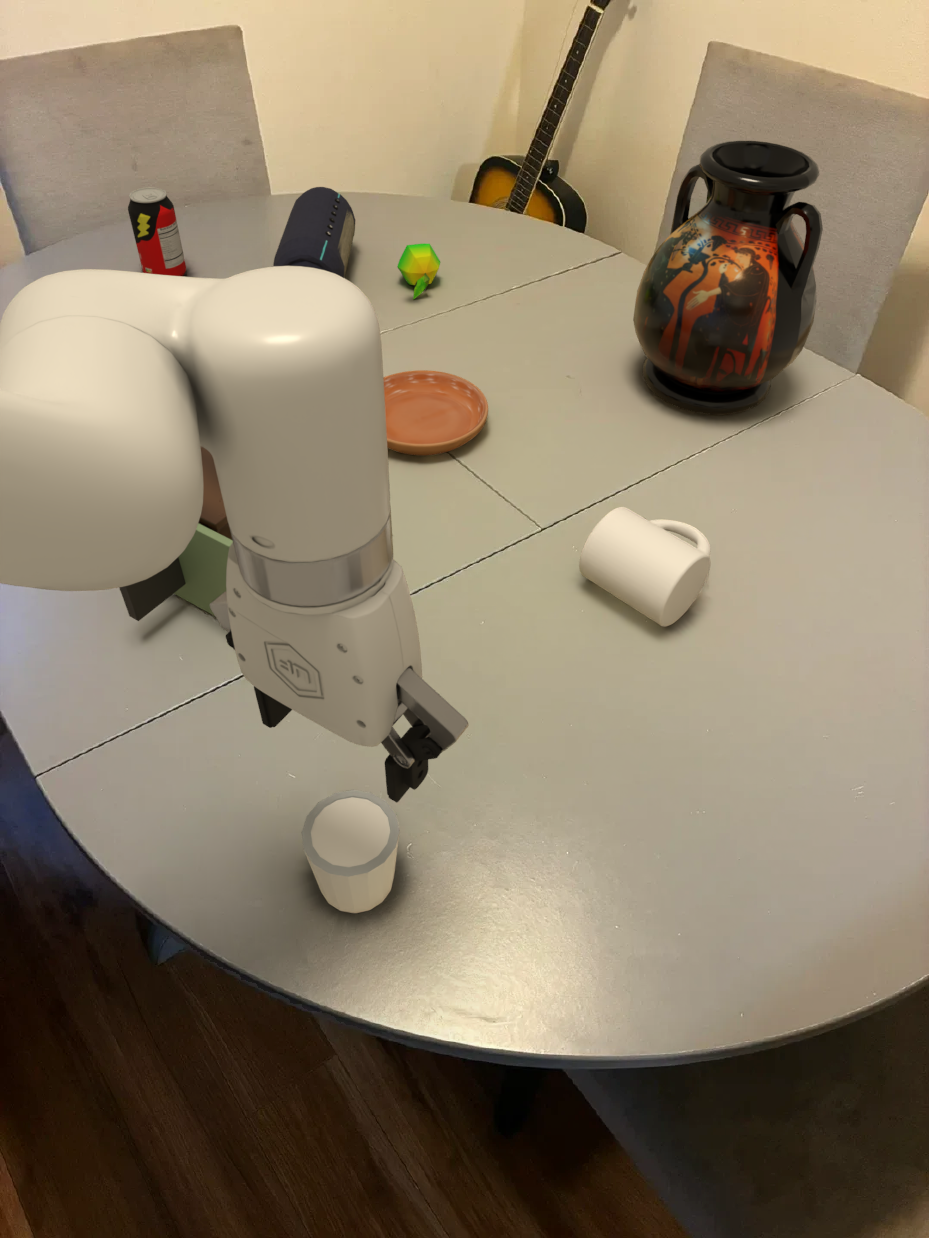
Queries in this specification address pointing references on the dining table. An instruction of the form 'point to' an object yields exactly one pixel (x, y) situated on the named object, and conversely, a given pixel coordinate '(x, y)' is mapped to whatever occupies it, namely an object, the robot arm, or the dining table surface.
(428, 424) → the saucer
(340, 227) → the portable speaker
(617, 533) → the mug
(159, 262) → the beverage can
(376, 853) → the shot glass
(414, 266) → the apple
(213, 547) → the sliding door
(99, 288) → the robot arm
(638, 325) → the amphora vase
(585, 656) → the dining table surface
